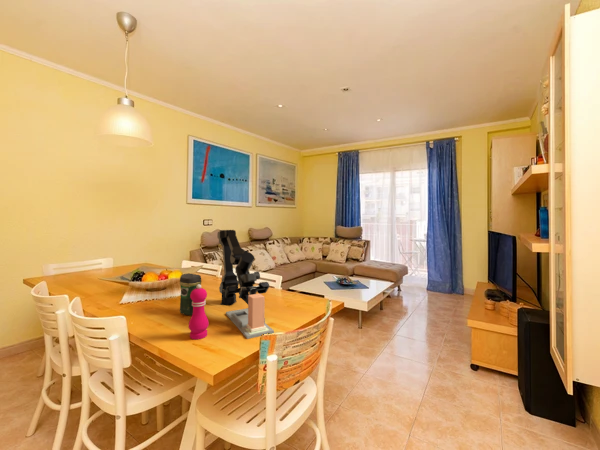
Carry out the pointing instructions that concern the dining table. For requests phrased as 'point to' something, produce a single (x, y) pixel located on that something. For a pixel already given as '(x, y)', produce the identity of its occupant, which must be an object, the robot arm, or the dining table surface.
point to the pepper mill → (198, 314)
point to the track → (242, 320)
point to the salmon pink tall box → (256, 312)
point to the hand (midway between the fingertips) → (252, 307)
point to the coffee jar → (188, 292)
